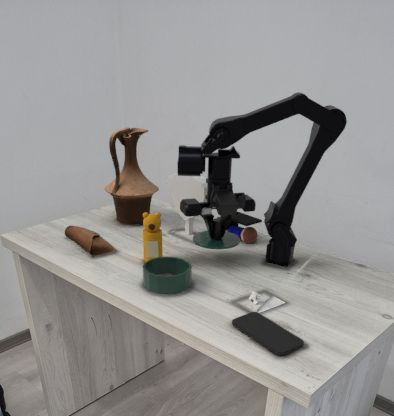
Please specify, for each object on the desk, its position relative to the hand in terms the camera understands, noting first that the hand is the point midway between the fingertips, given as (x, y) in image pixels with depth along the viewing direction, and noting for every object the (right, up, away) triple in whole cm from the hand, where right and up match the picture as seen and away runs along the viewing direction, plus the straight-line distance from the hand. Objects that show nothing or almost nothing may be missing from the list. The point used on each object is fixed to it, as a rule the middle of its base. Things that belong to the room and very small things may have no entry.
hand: (216, 237), depth 121 cm
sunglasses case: (-36, +1, +12) cm, 38 cm away
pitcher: (-26, +13, +30) cm, 42 cm away
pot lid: (0, -1, 0) cm, 1 cm away
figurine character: (+7, +4, +19) cm, 20 cm away
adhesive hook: (+9, -19, -15) cm, 26 cm away
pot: (-12, -14, -9) cm, 20 cm away
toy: (-17, -6, +3) cm, 18 cm away
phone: (+9, -27, -27) cm, 39 cm away
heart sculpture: (-8, +5, +19) cm, 21 cm away
